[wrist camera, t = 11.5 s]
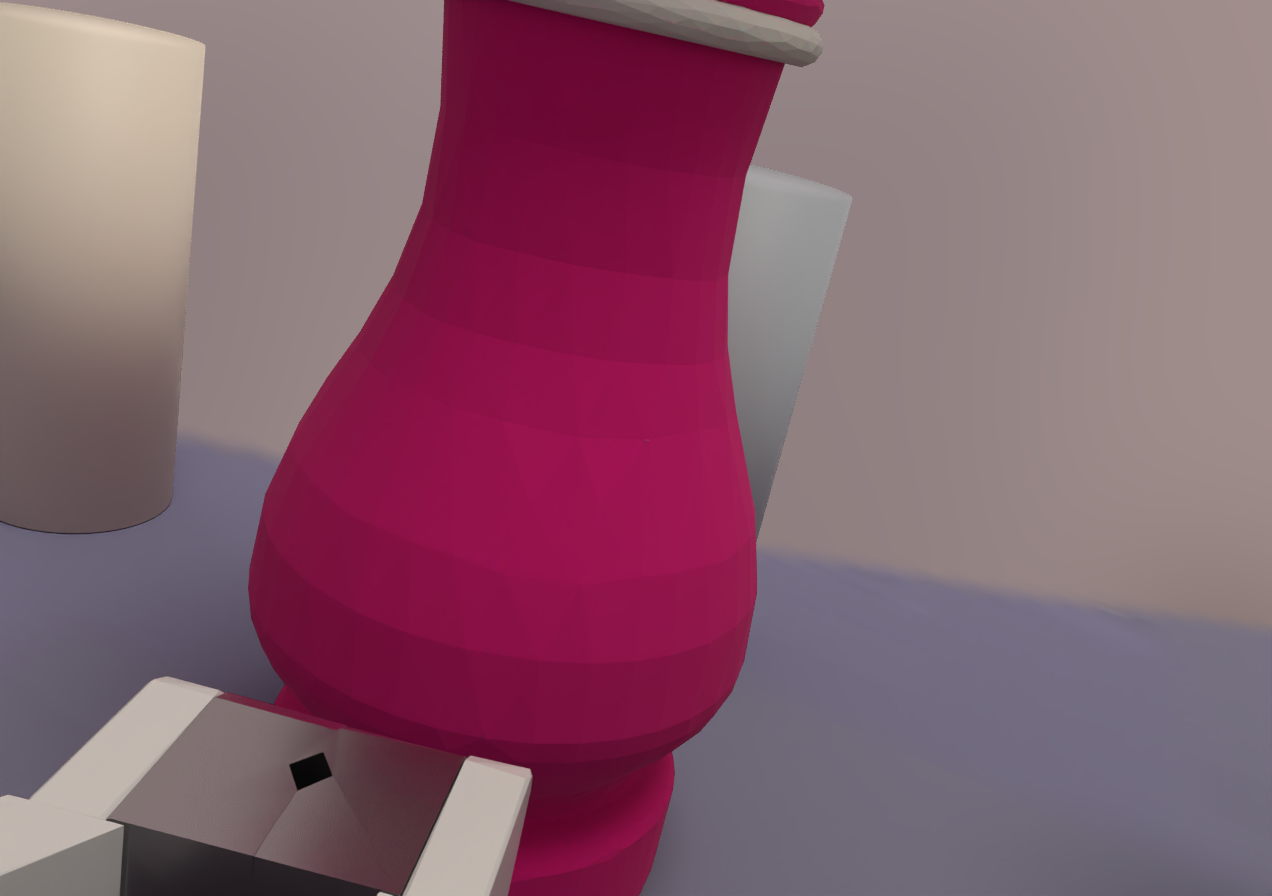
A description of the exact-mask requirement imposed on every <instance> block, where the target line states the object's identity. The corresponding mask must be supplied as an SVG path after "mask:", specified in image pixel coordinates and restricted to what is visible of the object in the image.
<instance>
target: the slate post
mask: <svg viewBox="0 0 1272 896" xmlns="http://www.w3.org/2000/svg"><path fill="white" fill-rule="evenodd" d="M851 202H852V197H851V196H850V195H848V194H846V193H844V192H842V191H839V190H837V189H834V188H832V187H829V186H826V185H823V184H820V183H817V182H814V181H811V180H808V179H804V178H801V177H798V176H794V175H790V174H787V173H783V172H779V171H775V170H771V169H767V168H763V167H759V166H755V165H751V164H750V166H749V169H748V172H747V175H746V179H745V185H744V190H743V196H742V201H741V207H740V212H739V218H738V223H737V229H736V235H735V240H734V246H733V251H732V257H731V262H730V268H729V273H728V352H729V359H730V367H731V375H732V383H733V391H734V399H735V406H736V413H737V418H738V423H739V429H740V434H741V439H742V444H743V450H744V455H745V460H746V465H747V471H748V476H749V481H750V486H751V492H752V497H753V502H754V507H755V525H756V541H757V537H758V534H759V530H760V527H761V523H762V520H763V516H764V512H765V509H766V506H767V502H768V498H769V495H770V491H771V488H772V484H773V480H774V477H775V473H776V470H777V466H778V462H779V459H780V456H781V452H782V448H783V445H784V441H785V437H786V434H787V431H788V427H789V424H790V420H791V416H792V413H793V409H794V406H795V402H796V398H797V395H798V391H799V388H800V384H801V381H802V377H803V373H804V370H805V366H806V362H807V359H808V356H809V352H810V349H811V345H812V341H813V338H814V334H815V330H816V327H817V324H818V320H819V316H820V313H821V309H822V306H823V302H824V299H825V295H826V292H827V288H828V284H829V281H830V276H831V274H832V270H833V267H834V263H835V259H836V256H837V252H838V249H839V245H840V242H841V238H842V234H843V231H844V227H845V224H846V220H847V217H848V213H849V209H850V206H851Z"/></svg>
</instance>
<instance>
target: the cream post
mask: <svg viewBox="0 0 1272 896" xmlns="http://www.w3.org/2000/svg"><path fill="white" fill-rule="evenodd" d="M204 59H205V45H204V44H202V43H201V42H198V41H196V40H193V39H190V38H187V37H184V36H180V35H177V34H173V33H169V32H165V31H162V30H158V29H153V28H149V27H145V26H140V25H136V24H131V23H127V22H122V21H117V20H112V19H107V18H102V17H97V16H92V15H86V14H81V13H75V12H69V11H63V10H57V9H51V8H44V7H37V6H30V5H22V4H13V3H3V2H0V521H3V522H5V523H8V524H11V525H15V526H18V527H23V528H27V529H32V530H38V531H45V532H56V533H93V532H104V531H111V530H117V529H122V528H126V527H130V526H134V525H137V524H140V523H143V522H145V521H148V520H150V519H152V518H154V517H156V516H157V515H159V514H160V513H162V512H163V511H164V510H165V509H166V508H167V507H168V506H169V504H170V502H171V500H172V493H173V480H174V466H175V452H176V439H177V425H178V412H179V398H180V384H181V370H182V357H183V344H184V329H185V316H186V303H187V289H188V276H189V262H190V249H191V235H192V222H193V221H192V220H193V208H194V193H195V180H196V167H197V153H198V140H199V126H200V113H201V99H202V86H203V72H204Z"/></svg>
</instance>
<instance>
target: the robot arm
mask: <svg viewBox="0 0 1272 896" xmlns="http://www.w3.org/2000/svg"><path fill="white" fill-rule="evenodd" d="M532 777H533V776H532V773H531V770H530V769H528V768H524V767H519V766H515V765H510V764H506V763H501V762H497V761H493V760H488V759H484V758H479V757H475V756H470V757H465V756H461V755H457V754H453V753H449V752H445V751H441V750H437V749H433V748H429V747H425V746H421V745H417V744H413V743H409V742H405V741H401V740H397V739H393V738H389V737H386V736H382V735H378V734H374V733H370V732H366V731H362V730H358V729H354V728H350V727H347V726H346V725H343V724H339V723H336V722H332V721H329V720H325V719H322V718H318V717H314V716H311V715H307V714H304V713H300V712H297V711H293V710H290V709H286V708H283V707H279V706H275V705H272V704H268V703H265V702H261V701H258V700H254V699H251V698H247V697H243V696H240V695H236V694H233V693H229V692H227V693H223V692H222V691H220V690H217V689H213V688H209V687H206V686H202V685H198V684H194V683H191V682H187V681H183V680H179V679H175V678H172V677H168V676H166V677H162V678H158V679H154V680H152V681H150V682H149V683H147V684H146V685H145V686H144V687H143V688H142V689H141V690H140V691H139V692H138V693H137V694H136V695H135V696H134V697H133V698H132V699H131V700H130V701H129V702H128V703H127V704H126V705H125V706H124V707H123V708H122V709H121V710H120V711H119V712H118V713H117V714H115V715H114V716H113V717H112V718H111V719H110V720H109V721H108V722H107V723H106V724H105V725H104V726H103V727H102V728H101V729H100V730H99V731H98V732H97V733H96V734H95V735H94V736H93V737H92V738H91V739H90V740H89V741H88V742H87V743H86V744H85V745H84V746H83V747H82V748H81V749H79V750H78V751H77V752H76V753H75V754H74V755H73V756H72V757H71V758H70V759H69V760H68V761H67V762H66V763H65V764H64V765H63V766H62V767H61V768H60V769H59V770H58V771H57V772H56V773H55V774H54V775H53V776H52V777H51V778H50V779H49V780H48V781H47V782H46V783H45V784H43V785H42V786H41V787H40V788H39V789H38V790H37V791H36V792H35V793H34V794H33V795H32V796H31V797H30V798H29V799H28V800H27V799H23V798H19V797H15V796H11V795H6V796H3V797H0V896H508V892H509V888H510V883H511V879H512V874H513V869H514V865H515V860H516V856H517V851H518V847H519V842H520V837H521V833H522V828H523V824H524V819H525V815H526V810H527V805H528V801H529V796H530V792H531V785H532Z"/></svg>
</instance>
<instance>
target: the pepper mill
mask: <svg viewBox="0 0 1272 896" xmlns="http://www.w3.org/2000/svg"><path fill="white" fill-rule="evenodd" d="M823 9H824V3H823V1H822V0H444V24H443V51H442V53H443V54H442V78H441V106H440V112H439V117H438V122H437V128H436V133H435V139H434V144H433V149H432V155H431V159H430V165H429V170H428V175H427V181H426V186H425V191H424V197H423V202H422V205H421V208H420V211H419V213H418V215H417V218H416V220H415V223H414V225H413V228H412V230H411V233H410V235H409V238H408V240H407V243H406V245H405V247H404V250H403V252H402V255H401V257H400V260H399V262H398V265H397V267H396V270H395V273H394V275H393V276H392V278H391V280H390V282H389V283H388V285H387V287H386V288H385V290H384V292H383V294H382V295H381V297H380V299H379V300H378V302H377V304H376V305H375V307H374V309H373V310H372V312H371V314H370V316H369V317H368V319H367V321H366V322H365V324H364V326H363V328H362V329H361V331H360V333H359V334H358V335H357V337H356V338H355V339H354V341H353V342H352V344H351V345H350V347H349V348H348V349H347V351H346V352H345V354H344V355H343V356H342V358H341V359H340V360H339V362H338V363H337V365H336V366H335V367H334V369H333V370H332V371H331V373H330V374H329V376H328V377H327V379H326V380H325V382H324V383H323V385H322V387H321V388H320V390H319V392H318V393H317V395H316V396H315V398H314V400H313V401H312V403H311V405H310V406H309V408H308V409H307V411H306V413H305V414H304V416H303V417H302V419H301V421H300V422H299V424H298V426H297V429H296V431H295V433H294V435H293V437H292V439H291V441H290V443H289V445H288V447H287V450H286V452H285V454H284V456H283V458H282V460H281V462H280V464H279V466H278V469H277V471H276V473H275V475H274V477H273V479H272V481H271V483H270V485H269V488H268V490H267V492H266V494H265V499H264V503H263V508H262V512H261V517H260V522H259V526H258V531H257V536H256V540H255V545H254V550H253V554H252V559H251V564H250V570H249V584H248V590H249V601H250V611H251V619H252V621H253V624H254V627H255V630H256V632H257V635H258V638H259V641H260V643H261V646H262V648H263V650H264V652H265V654H266V656H267V658H268V659H269V661H270V663H271V665H272V667H273V669H274V670H275V672H276V673H277V674H278V676H279V677H280V678H281V679H282V681H283V682H284V683H285V685H284V687H283V688H282V690H281V692H280V693H279V695H278V697H277V698H276V700H275V703H274V705H275V706H279V707H283V708H286V709H290V710H293V711H297V712H300V713H304V714H307V715H311V716H314V717H318V718H322V719H325V720H329V721H332V722H336V723H339V724H343V725H346V726H347V727H350V728H354V729H358V730H362V731H366V732H370V733H374V734H378V735H382V736H386V737H389V738H393V739H397V740H401V741H405V742H409V743H413V744H417V745H421V746H425V747H429V748H433V749H437V750H441V751H445V752H449V753H453V754H457V755H461V756H465V757H470V756H475V757H479V758H484V759H488V760H493V761H497V762H501V763H506V764H510V765H515V766H519V767H524V768H528V769H530V770H531V773H532V776H533V777H532V785H531V792H530V796H529V801H528V805H527V810H526V815H525V819H524V824H523V828H522V833H521V837H520V842H519V847H518V851H517V856H516V860H515V865H514V869H513V874H512V879H511V883H510V888H509V892H508V896H638V895H639V894H640V893H641V890H642V888H643V886H644V884H645V882H646V879H647V877H648V875H649V873H650V871H651V868H652V864H653V861H654V857H655V854H656V850H657V847H658V843H659V839H660V836H661V832H662V828H663V824H664V821H665V817H666V813H667V810H668V806H669V802H670V798H671V795H672V791H673V785H674V776H675V772H674V761H673V755H672V751H673V750H675V749H676V748H677V747H679V746H680V745H682V744H683V743H685V742H686V741H687V740H689V739H690V738H692V737H693V736H695V735H696V734H697V733H699V732H700V731H701V730H702V729H703V727H704V726H705V725H706V724H707V723H708V722H709V721H710V719H711V718H712V717H713V716H714V715H715V713H716V712H717V711H718V710H719V708H720V707H721V706H722V704H723V703H724V702H725V700H726V699H727V698H728V696H729V695H730V694H731V692H732V690H733V687H734V685H735V682H736V680H737V677H738V675H739V672H740V670H741V667H742V665H743V662H744V659H745V654H746V648H747V643H748V638H749V632H750V627H751V622H752V616H753V611H754V606H755V600H756V595H757V560H756V525H755V507H754V502H753V497H752V492H751V486H750V481H749V476H748V471H747V465H746V460H745V455H744V450H743V444H742V439H741V434H740V429H739V423H738V418H737V413H736V406H735V399H734V391H733V383H732V375H731V367H730V359H729V352H728V273H729V268H730V262H731V257H732V251H733V246H734V240H735V235H736V229H737V223H738V218H739V212H740V207H741V201H742V196H743V190H744V185H745V179H746V175H747V172H748V169H749V166H750V163H751V160H752V157H753V154H754V151H755V148H756V146H757V142H758V140H759V137H760V134H761V131H762V128H763V125H764V122H765V120H766V117H767V114H768V111H769V108H770V105H771V102H772V99H773V96H774V93H775V90H776V88H777V85H778V82H779V79H780V76H781V73H782V70H783V67H784V64H785V63H786V64H790V65H794V66H799V67H803V66H806V65H809V64H811V63H814V62H815V61H816V60H817V59H818V57H819V56H820V54H821V53H822V49H823V48H822V41H821V36H820V35H819V34H818V33H817V32H816V30H814V29H813V28H811V27H812V26H813V25H814V24H815V23H816V22H817V20H818V19H819V18H820V16H821V15H822V14H823Z"/></svg>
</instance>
